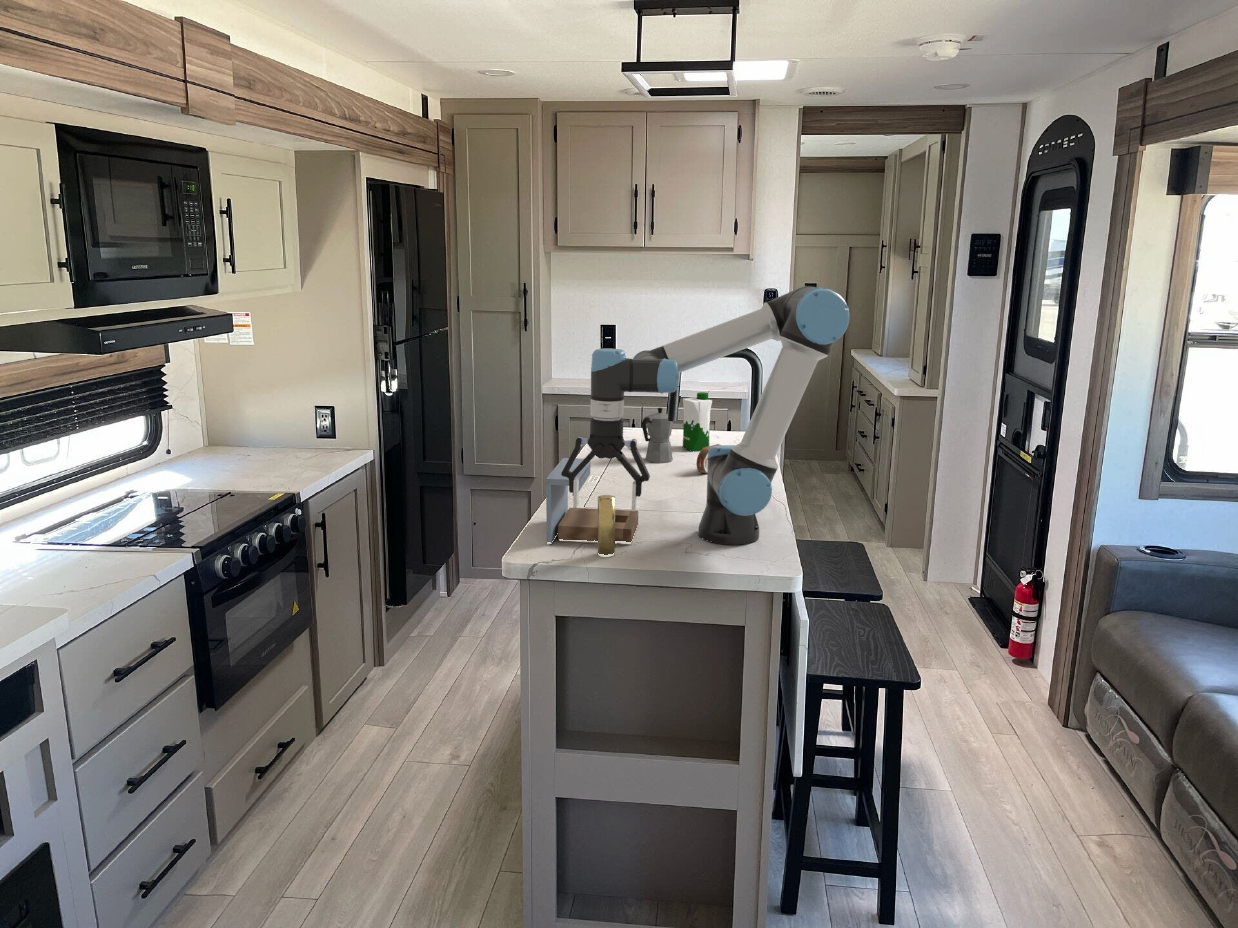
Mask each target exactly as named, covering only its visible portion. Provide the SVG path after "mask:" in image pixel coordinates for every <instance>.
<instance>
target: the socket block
mask: <svg viewBox="0 0 1238 928" xmlns="http://www.w3.org/2000/svg"><path fill="white" fill-rule="evenodd" d="M637 525H638V526H639V510H637V509H636V510H635V511H632V509H631V510H628V509H615V541H626V542H631V541H632V539H633V540H634V538H633V536H634V537H635V535H634V533H635V531H636V532H637V530H636V528H637V529H638V527H637ZM635 534H636V533H635ZM558 539H563V540H587V541H594V540H595V541H598V508H592V507H591V508H589V507H588V508H587V507H577V508H573V507H568V511H567V512H566V514H565V515H564V517H563V519H562V520H561V522H560V523H559V525H558V536H557V540H558ZM632 542H633V541H632Z"/></svg>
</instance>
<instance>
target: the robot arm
mask: <svg viewBox="0 0 1238 928" xmlns="http://www.w3.org/2000/svg"><path fill="white" fill-rule="evenodd" d="M849 323H850V309H849V306H848V305H847V302H846V300H845V299H844V298H843V297H842V296H841V295H840V294H839V293H837V292H835V291H834V290H832V289H830V288H829V289H828V288H825V287H817V286H811V285H808V286H807V285H805V286H802V287H798V288H796V289H792V290H791V291H789V292H787V293H784V294H781V295H780V296H777V297H775V298H774V299H771V300H769V301H766V302H764V303H763V305H762V306H761V308H760V309H756V310H754V311H752V312H749V313H746V314H744V315H740V316H738V317H736V318H734V319H733V318H732V319H730V320H727V321H724V322H722V323H719V324H717V325H714V326H712V327H708V328H706V329H704V330H700V331H699V332H696V333H693V334H690V335H688V336H685V337H683V338H680V339H676V340H674V341H671V342H669V343H666V344H664V345H662V346H658V347H655V348H652V349H650V350H642V351H639V352H637V353H636V354H635V355H634V356H633V357H632V358H629V357H627V356H626V352H625V350H624V349H620V348H610V347H609V348H605V347H604V348H596V349H595V350H594V351H593V352H592V354H591V365H590V366H591V368H590V408H589V409H590V416H591V418H590V420H589V421H590V422H589V437H588V438H587V437H586V438H585V437H583V436H582V435H579V436H578V437H577V438H576V439H575V445H574V449H573V451H572V452H571V454H570V456H569V457H568V458H569V460H568V461H567V463H566V465H565V467H564V469H563V471H562V473H561V475H562V476H563V477H564V476H565V477H567V478H568V479H569V486H568V492H569V493H570V494H571V493H572V497H573V499H572V500H573V501H572V502H573V503H572V504H573V505H572V508H578V506H579V497H580V496H579V495H580V494H579V492H580V491H579V478H575V477H576V476H577V474H578V473H579V472H580V471H581V470H582V469H583V468H584V467H585V466H586V465H587V464H588V463H589V461H590V462H591V461H592V459H594V458H595V457H596V458H598V459H604V458H605V459H609V460H613V459H614V458H615V459H616V460H617V461H618V462H619V463H620V464H621V465H622V466H623V468H624V469H625V470H626V472H627V473H628V474H629V475H630V477H631V478H632V479H633V482H632V485H631V486H632V487H631V488H632V489H631V490H632V492H631V510H632V511H635V510H636V511H637V497H639V498H640V497H641V495H642V487H643V486H642V485H643V483H644V482H648V481H649V480H650V478H651V477H650V476H651V474H650V473H649V471H648V468H647V466H646V465H645V462H644V460H643V457H642V455H641V453H640V451H639V450H638V443H637V441H638V440H637V439H636V438H632V439H631V440H630V439H629V440H625V439H624V419H623V417H624V412H625V410H624V409H625V393H652V394H653V393H656V394H657V393H658V394H659V393H660V394H664V393H669V394H670V393H675V392H676V391H677V389H678V385H679V374H680V373H683V372H685V371H688V370H691V369H694V368H696V367H699V366H702V365H705V364H707V363H711V362H713V361H716V360H718V359H721V358H724V357H726V356H729V355H732V354H735V353H737V352H740V351H743V350H745V349H748V348H751V347H753V346H757V345H759V344H762V343H764V342H767V341H770V340H774V341H776V342H781V349H780V351H779V354H778V356H777V359H776V360H775V363H774V365H773V367H772V369H771V372H770V374H769V377H768V379H767V381H766V384H765V386H764V389H763V391H762V393H761V395H760V398H759V399H758V403H757V404H756V407H755V409H754V411H753V413H752V415H751V418H750V421H749V423H748V425H747V428H746V429H745V432H744V435H743V437H742V439H741V441H740V442H739V443H738V444H732V445H731V444H730V445H729V444H727V445H726V444H725V445H723V444H720V445H719V446H713V447H711V448H710V449H709V452H708V457H707V460H708V474H706V475H707V476H706V477H707V478H706V506H705V508H704V510H703V513H702V516H701V519H700V522H699V525H698V536H699V538H701V539H702V538H703V539H702V540H704V541H706V540H708V541H707V542H709V541H712V542H711V543H713V542H714V544H718V543H721V544H720V545H731V546H735V545H746V544H750V543H751V544H752V543H755V542H757V540H759V538H760V525H759V522H758V519H757V515H756V514H758V513H760V512H761V511H763V510H764V509H765V508H766V507H767V505H768V504H769V503H770V501H771V499H772V496H773V495H772V493H773V486H772V482H773V479H774V478H775V475H776V473H777V472H778V468H779V464H778V463H777V460H776V457H777V454H778V452H779V450H780V447H781V445H782V443H783V441H784V438H785V436H786V434H787V433H788V432H787V431H788V429H789V428H790V425H791V423H792V420H793V418H794V416H795V414H796V412H797V409H798V408H799V406H800V403H801V400H802V399H803V395H804V394H805V392H806V389H807V387H808V385H809V383H810V380H811V378H812V376H813V373H814V371H815V369H816V367H817V364H818V362H819V361H820V360H823V359H825V358H827V357H828V356H829V354H830V352H831V349H832V348H833V346H834V343H835V342H837V341H838V340H839V339H841V337H843V336H844V334H845V333H846V331H847V329H848V327H849V325H850V324H849ZM586 445H587V446H588V447H589V448H590V450H591V451H590V452H589V453H588V454H587V455H586V456H585V457H584V458H583V459H584V460H583V461H582V462H581V463H580V464H579V465H578V466H577V467H576V468H575V469H574V471H573V472H570V471H569V470H570V468H571V466H572V464H573V462H574V460H575V459H576V458H577V457H578V455H579V453H580V452H581V449H582V448H584V447H585V446H586ZM625 446H626V448H627V449H628V450H629V451H630V452H631V456H632V457H633V459H634V462H635V463H636V466H637V468H638V470H639V472H640V473H639V472H638V470H637V469H636V468H635V467H634V465H633V464H632V463H631V461H629V459H628V458H627V457H626V455H625V453H624V452H623V451H622V450H623V448H624V447H625Z"/></svg>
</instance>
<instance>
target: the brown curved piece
mask: <svg viewBox="0 0 1238 928" xmlns="http://www.w3.org/2000/svg"><path fill="white" fill-rule="evenodd" d="M719 445H721V444H720V443H717V444H713V445H709V446H708V447H704V448H703V449H702V450H701V451H699V453H698V455H697V459H696V469H697V471H698V472H699V473H701V474H706V475H707V474H708V460H707V457H708V452H709V449H710V448H711V447H713V446H719Z"/></svg>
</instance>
